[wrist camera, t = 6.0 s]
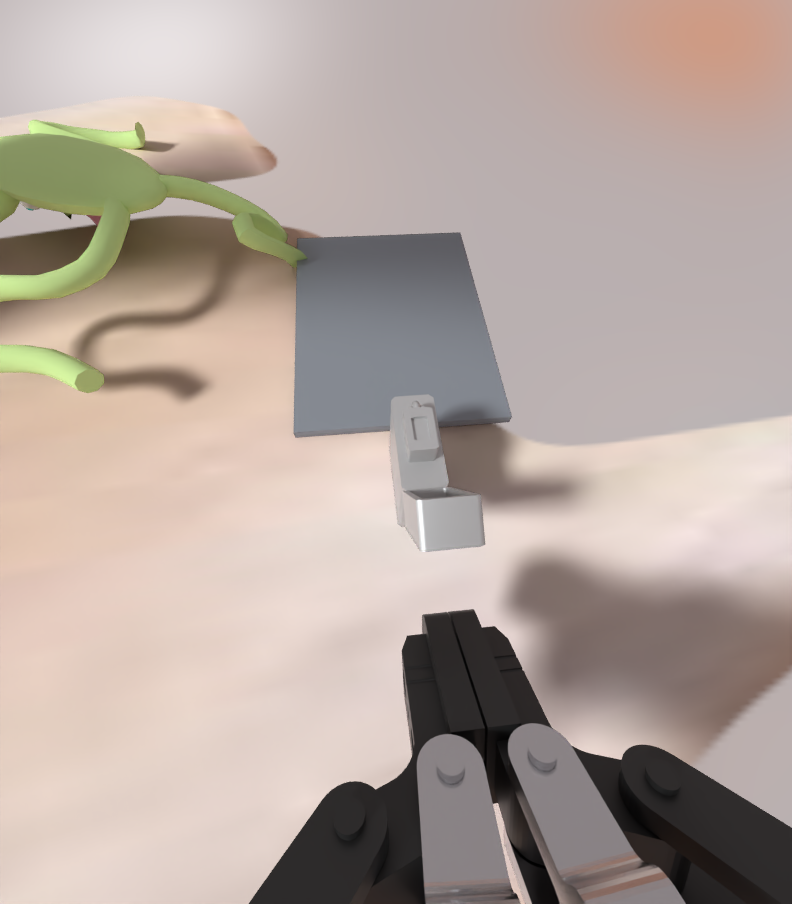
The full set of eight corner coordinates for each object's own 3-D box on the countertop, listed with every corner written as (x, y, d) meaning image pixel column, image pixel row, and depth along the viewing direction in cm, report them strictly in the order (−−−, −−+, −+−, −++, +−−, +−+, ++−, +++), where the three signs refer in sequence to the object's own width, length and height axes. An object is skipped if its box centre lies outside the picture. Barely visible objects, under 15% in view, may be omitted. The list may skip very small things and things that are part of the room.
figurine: (58, 480, 19) (-55, 417, 14) (-126, 226, 27) (-238, 130, 22) (343, 292, 26) (333, 204, 21) (127, 132, 34) (83, 41, 29)
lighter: (388, 447, 20) (392, 329, 13) (423, 444, 20) (445, 326, 13) (405, 596, 17) (422, 546, 10) (446, 591, 17) (492, 539, 10)
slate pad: (295, 437, 20) (293, 432, 20) (298, 245, 27) (297, 238, 27) (509, 421, 21) (511, 416, 20) (459, 239, 28) (460, 232, 27)
